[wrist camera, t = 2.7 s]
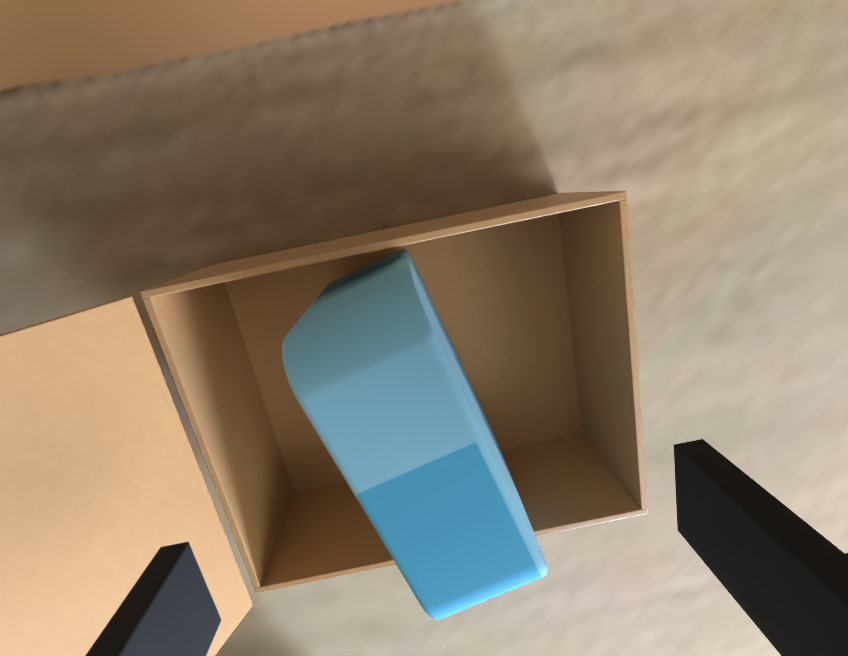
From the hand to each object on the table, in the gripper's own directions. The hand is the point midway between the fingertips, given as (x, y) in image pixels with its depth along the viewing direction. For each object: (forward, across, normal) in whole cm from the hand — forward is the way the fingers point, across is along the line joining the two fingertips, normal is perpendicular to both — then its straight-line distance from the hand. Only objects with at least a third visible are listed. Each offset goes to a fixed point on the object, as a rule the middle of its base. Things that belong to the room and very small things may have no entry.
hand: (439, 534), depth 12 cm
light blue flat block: (+14, 0, 0) cm, 14 cm away
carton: (+14, 0, 0) cm, 14 cm away
